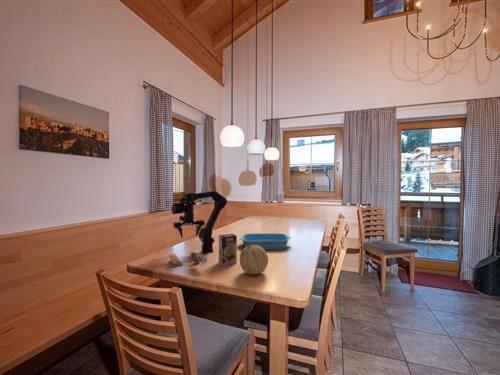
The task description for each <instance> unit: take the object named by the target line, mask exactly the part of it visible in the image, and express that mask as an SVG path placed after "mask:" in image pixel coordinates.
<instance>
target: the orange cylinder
mask: <svg viewBox="0 0 500 375" xmlns="http://www.w3.org/2000/svg"><path fill="white" fill-rule="evenodd" d="M168 259H169V261H171V262H172V263H173V264H174V265H178V264H179V263H180V261H181V259H180V258H179V257H178V256H177V254H176V253H171V254H170V255H169V256H168Z"/></svg>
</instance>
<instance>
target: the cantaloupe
mask: <svg viewBox="0 0 500 375" xmlns="http://www.w3.org/2000/svg"><path fill="white" fill-rule="evenodd" d="M268 263H269V256H268V254H267V252H266V249H263V248H262V247H261V246H258V245H250V246H249V245H248V247H244V248H243V249H242V250H241V252H240V254H239V265H240V268H241V269H242V270H243V271H244V272H245V274H248V275H252V276H254V275H259V274H261V273H263V272H264V271H265V270H266V269H267V267H268Z"/></svg>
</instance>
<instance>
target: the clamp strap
mask: <svg viewBox="0 0 500 375" xmlns="http://www.w3.org/2000/svg"><path fill="white" fill-rule="evenodd" d="M196 258H197V259H198V260H199V263H201V264H207V263H208V259H207V257H206V256H205V255H204V254H202V252H198V253H196Z"/></svg>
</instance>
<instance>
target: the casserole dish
mask: <svg viewBox="0 0 500 375" xmlns="http://www.w3.org/2000/svg"><path fill="white" fill-rule="evenodd" d="M290 239H291V236H289V235H288V234H285V233H279V232H278V233H275V232H274V233H272V232H269V233H262V232H261V233H244V234H243V235H241V236H240V235H239V240H241V241H242V244H243V246H244V248H246V247H248V245H249V246H250V245H258V246H261V247H262V248H263V249H264V250H281V249H284V248H285V247H286V246H287V245H288V242H289V240H290Z"/></svg>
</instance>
